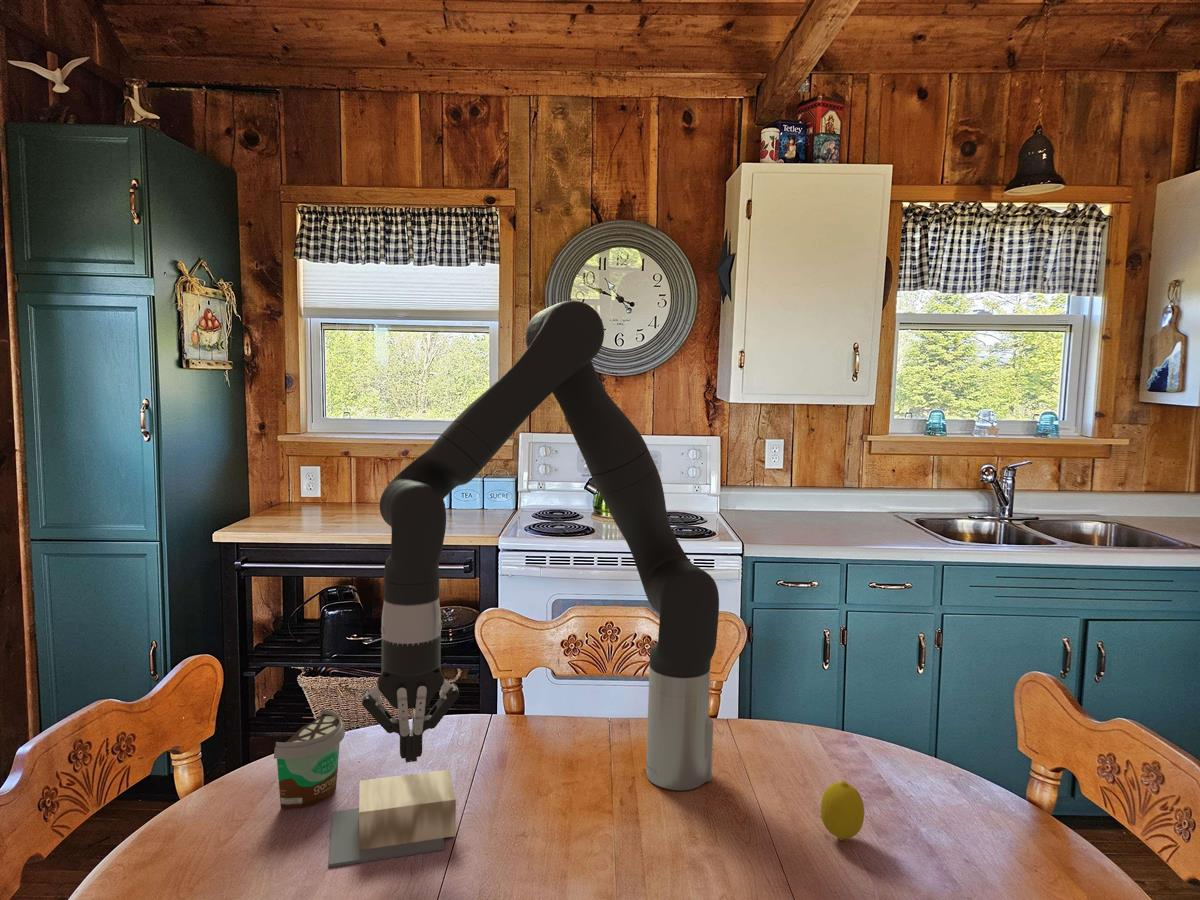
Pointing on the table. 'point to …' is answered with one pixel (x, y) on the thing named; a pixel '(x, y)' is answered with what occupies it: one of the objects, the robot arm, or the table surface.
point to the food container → (310, 762)
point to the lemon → (842, 810)
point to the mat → (348, 852)
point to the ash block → (406, 809)
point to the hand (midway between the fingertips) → (410, 759)
